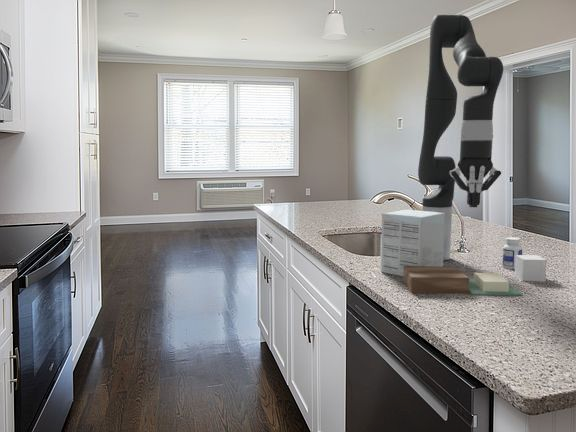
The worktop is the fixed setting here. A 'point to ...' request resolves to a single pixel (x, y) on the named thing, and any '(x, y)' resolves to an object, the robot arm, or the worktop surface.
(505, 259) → the pill bottle
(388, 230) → the supplement box
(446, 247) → the robot arm
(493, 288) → the cream tile
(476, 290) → the green mat
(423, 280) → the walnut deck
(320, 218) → the worktop surface
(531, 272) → the white cube
